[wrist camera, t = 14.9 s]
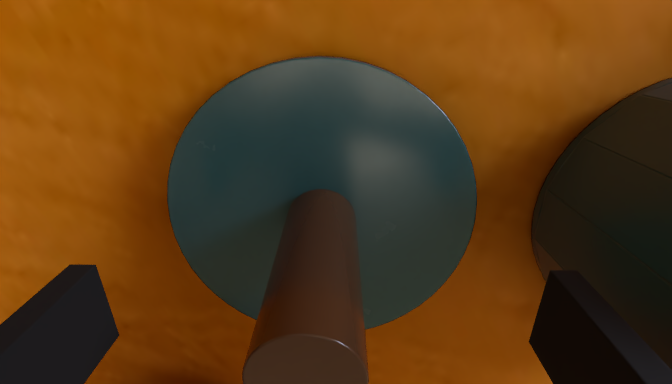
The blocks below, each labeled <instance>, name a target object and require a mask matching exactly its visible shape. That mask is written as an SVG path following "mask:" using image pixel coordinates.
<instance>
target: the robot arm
mask: <svg viewBox="0 0 672 384" xmlns="http://www.w3.org/2000/svg"><path fill="white" fill-rule="evenodd" d="M118 336H119V333H118V330H117V327H116V324H115V321H114V318H113V315H112V312H111V309H110V306H109V303H108V300H107V297H106V294H105V291H104V288H103V285H102V282H101V279H100V276H99V273H98V270H97V267H96V265H69V266H68V267H67V268H65V269H64V270H63V271H62V272H61V273H60V274H59V275H57V276H56V277H55V278H54V279H53V280H52V281H50V282H49V283H48V284H47V285H46V286H45V287H43V288H42V289H41V290H40V291H39V292H38V293H37V294H35V295H34V296H33V297H32V298H31V299H30V300H28V301H27V302H26V303H25V304H24V305H23V306H22V307H20V308H19V309H18V310H17V311H16V312H15V313H13V314H12V315H11V316H10V317H9V318H8V319H7V320H5V321H4V322H3V323H2V324H1V325H0V384H84V383H85V381H86V380H87V379H88V377H89V376H90V375H91V373H92V372H93V370H94V369H95V368H96V366H97V365H98V364H99V362H100V361H101V360H102V358H103V357H104V355H105V354H106V353H107V351H108V350H109V349H110V347H111V346H112V344H113V343H114V342H115V340H116V339H117V338H118ZM529 343H530V345H531V346H532V348H533V350H534V351H535V353H536V355H537V357H538V358H539V360H540V362H541V363H542V365H543V367H544V369H545V370H546V372H547V374H548V375H549V377H550V379H551V381H552V382H553V384H672V370H671V369H670V368H669V367H668V365H667V364H666V363H665V362H664V361H663V360H662V359H661V358H660V357H659V356H658V355H657V354H656V353H655V352H654V351H653V350H652V349H651V348H650V347H649V346H648V344H647V343H646V342H645V341H644V340H643V339H642V338H641V337H640V336H639V335H638V334H637V333H636V332H635V331H634V330H633V329H632V328H631V327H630V326H629V324H628V323H627V322H626V321H625V320H624V319H623V318H622V317H621V316H620V315H619V314H618V313H617V312H616V311H615V310H614V309H613V308H612V307H611V306H610V304H609V303H608V302H607V301H606V300H605V299H604V298H603V297H602V296H601V295H600V294H599V293H598V292H597V291H596V290H595V289H594V288H593V287H592V286H591V284H590V283H589V282H588V281H587V280H586V279H585V278H584V277H583V276H582V275H581V274H580V273H579V272H578V271H574V270H550V272H549V275H548V279H547V282H546V285H545V289H544V292H543V296H542V299H541V302H540V306H539V309H538V313H537V316H536V319H535V323H534V326H533V330H532V333H531V336H530V340H529Z"/></svg>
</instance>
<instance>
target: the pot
mask: <svg viewBox="0 0 672 384" xmlns="http://www.w3.org/2000/svg"><path fill="white" fill-rule="evenodd" d="M532 244H533V251H534V255H535V258H536V261H537V264H538V266H539V268H540V270H541V272H542V275H543V277H544V279H545V281H546V282H547V279H548V275H549V272H550V270H574V271H578V272H579V273H580V274H581V275H582V276H583V277H584V278H585V279H586V280H587V281H588V282H589V283H590V284H591V286H592V287H593V288H594V289H595V290H596V291H597V292H598V293H599V294H600V295H601V296H602V297H603V298H604V299H605V300H606V301H607V302H608V303H609V304H610V306H611V307H612V308H613V309H614V310H615V311H616V312H617V313H618V314H619V315H620V316H621V317H622V318H623V319H624V320H625V321H626V322H627V323H628V324H629V326H630V327H631V328H632V329H633V330H634V331H635V332H636V333H637V334H638V335H639V336H640V337H641V338H642V339H643V340H644V341H645V342H646V343H647V344H648V346H649V347H650V348H651V349H652V350H653V351H654V352H655V353H656V354H657V355H658V356H659V357H660V358H661V359H662V360H663V361H664V362H665V363H666V364H667V365H668V367H669V368H670V369H671V370H672V78H670V79H667V80H663V81H661V82H659V83H656V84H654V85H652V86H649V87H647V88H645V89H642V90H640V91H639V92H637V93H635V94H633V95H631V96H630V97H628V98H626V99H624V100H622V101H621V102H619V103H618V104H616V105H615V106H613V107H612V108H611V109H609V110H608V111H606V112H605V113H603V114H602V115H601V116H600V117H598V118H597V119H596V120H595V121H594V122H592V123H591V124H590V125H589V126H588V127H587V128H585V129H584V130H583V131H582V132H581V133H580V134H579V135H578V137H577V138H576V139H575V140H574V141H573V142H572V143H571V144H570V145H569V146H568V147H567V149H566V150H565V151H564V153H563V154H562V155H561V156H560V158H559V159H558V160H557V162H556V163H555V165H554V167H553V168H552V170H551V171H550V173H549V175H548V176H547V178H546V180H545V183H544V185H543V187H542V189H541V191H540V193H539V197H538V200H537V203H536V206H535V209H534V215H533V221H532Z"/></svg>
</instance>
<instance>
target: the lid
mask: <svg viewBox="0 0 672 384" xmlns="http://www.w3.org/2000/svg"><path fill="white" fill-rule="evenodd" d="M167 202H168V209H169V216H170V221H171V224H172V228H173V231H174V235H175V238H176V240H177V242H178V244H179V247H180V249H181V251H182V253H183V255H184V256H185V258H186V260H187V261H188V263H189V265H190V266H191V268H192V269H193V270H194V272H195V273H196V274H197V275H198V277H199V278H200V279H201V280H202V282H203V283H204V284H205V285H206V286H207V287H208V288H209V289H210V290H212V291H213V292H214V293H215V294H216V295H217V296H218V297H220V298H221V299H222V300H223V301H225V302H226V303H227V304H229V305H230V306H232V307H233V308H235V309H237V310H238V311H240V312H241V313H243V314H245V315H247V316H249V317H251V318H253V319H255V320H257V321H256V325H255V328H254V332H253V335H252V339H251V342H250V346H249V349H248V353H247V356H246V360H245V363H244V367H243V372H242V377H243V383H244V384H368V382H369V377H368V363H367V351H366V338H365V329H369V328H373V327H377V326H379V325H382V324H385V323H388V322H390V321H392V320H395V319H397V318H399V317H401V316H403V315H405V314H407V313H408V312H410V311H411V310H413V309H415V308H416V307H418V306H419V305H421V304H422V303H423V302H424V301H426V300H427V299H428V298H429V297H431V296H432V295H433V294H434V293H435V292H436V291H437V290H438V289H439V288H440V287H441V286H442V285H443V284H444V283H445V282H446V281H447V279H448V278H449V277H450V275H451V274H452V273H453V271H454V270H455V269H456V267H457V265H458V264H459V262H460V260H461V258H462V257H463V255H464V253H465V250H466V248H467V245H468V243H469V240H470V238H471V234H472V230H473V226H474V222H475V216H476V206H477V193H476V181H475V176H474V171H473V166H472V162H471V160H470V157H469V154H468V151H467V149H466V146H465V144H464V142H463V140H462V139H461V137H460V135H459V133H458V131H457V129H456V128H455V126H454V125H453V124H452V122H451V121H450V120H449V118H448V117H447V116H446V114H445V113H444V112H443V111H442V110H441V109H440V108H439V107H438V106H437V105H436V104H435V103H434V102H433V101H432V100H431V99H430V98H429V97H428V96H427V95H426V94H424V93H423V92H422V91H420V90H419V89H418V88H416V87H415V86H413V85H412V84H411V83H409V82H408V81H407V80H405V79H403V78H401V77H399V76H397V75H395V74H393V73H391V72H390V71H388V70H385V69H383V68H380V67H377V66H374V65H372V64H369V63H366V62H362V61H357V60H352V59H348V58H343V57H329V56H310V57H296V58H291V59H286V60H282V61H277V62H273V63H270V64H267V65H265V66H262V67H259V68H257V69H254V70H251V71H249V72H248V73H246V74H244V75H242V76H240V77H238V78H237V79H235V80H233V81H231V82H229V83H228V84H227V85H225V86H224V87H223V88H221V89H220V90H219V91H217V92H216V93H215V94H213V95H212V96H211V97H210V98H209V99H208V100H207V101H206V102H205V103H204V104H203V105H202V106H201V107H200V108H199V110H198V111H197V112H196V113H195V115H194V116H193V117H192V119H191V120H190V122H189V123H188V124H187V126H186V127H185V129H184V131H183V133H182V135H181V137H180V139H179V141H178V143H177V145H176V148H175V151H174V154H173V158H172V161H171V164H170V170H169V176H168V193H167Z"/></svg>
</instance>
